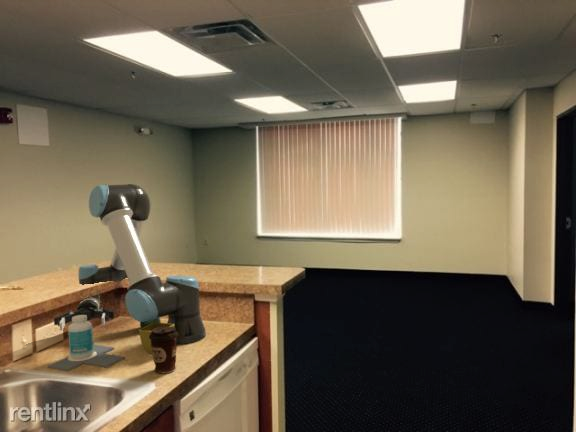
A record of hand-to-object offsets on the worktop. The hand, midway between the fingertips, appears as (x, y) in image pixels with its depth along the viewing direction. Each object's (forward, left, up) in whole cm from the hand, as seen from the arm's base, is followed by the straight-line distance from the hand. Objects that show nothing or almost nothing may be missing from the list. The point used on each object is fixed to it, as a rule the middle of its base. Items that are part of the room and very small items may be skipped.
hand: (82, 324), depth 163 cm
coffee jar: (-6, -28, -10) cm, 31 cm away
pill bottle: (-4, +5, -9) cm, 11 cm away
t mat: (-9, +5, -10) cm, 14 cm away
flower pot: (-26, -7, -10) cm, 29 cm away
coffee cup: (-38, +5, -10) cm, 40 cm away
